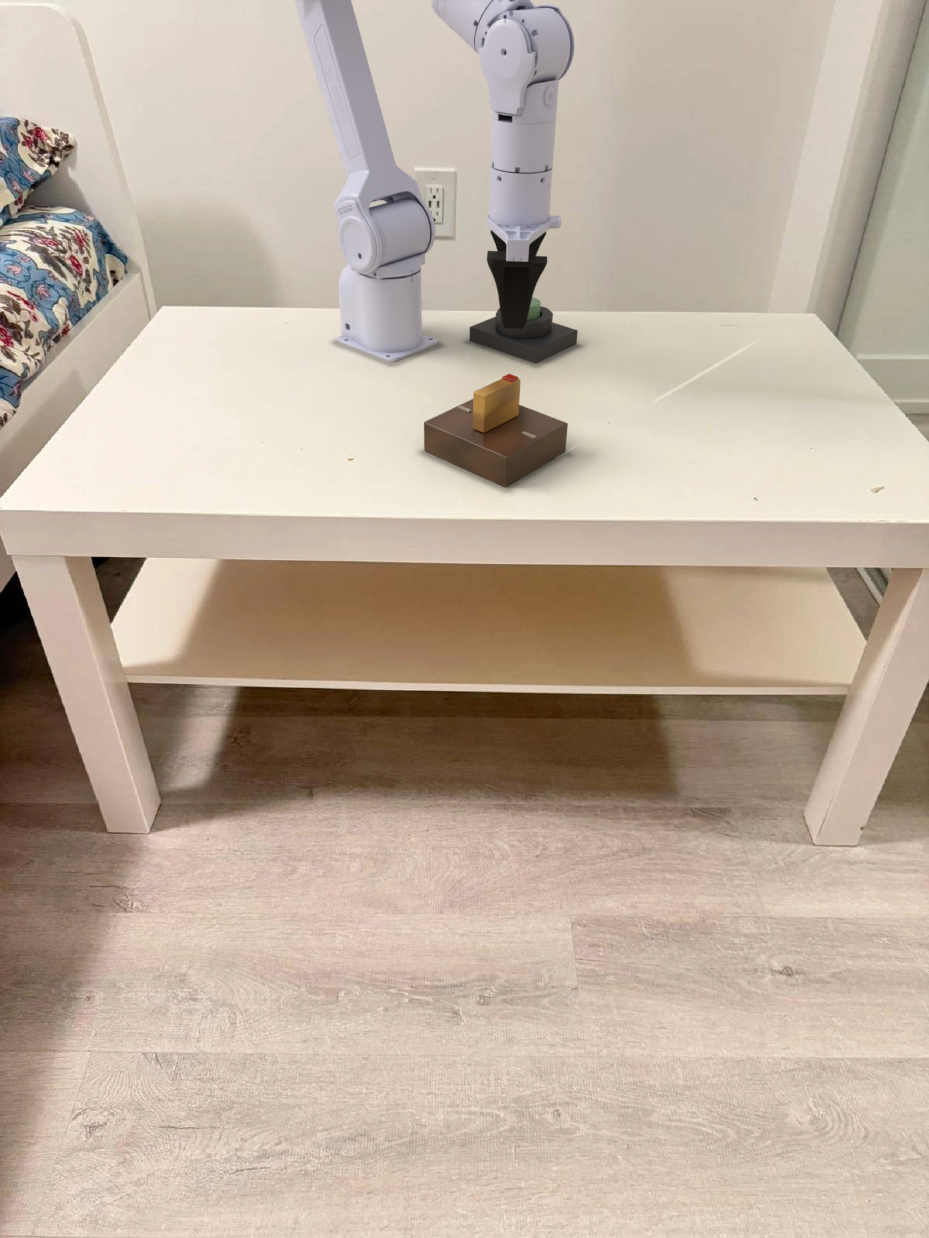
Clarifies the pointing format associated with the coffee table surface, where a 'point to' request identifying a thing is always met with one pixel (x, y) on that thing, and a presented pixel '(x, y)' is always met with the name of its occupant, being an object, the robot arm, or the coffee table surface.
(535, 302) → the button
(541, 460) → the plate
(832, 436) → the coffee table surface
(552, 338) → the push button base
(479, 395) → the block
